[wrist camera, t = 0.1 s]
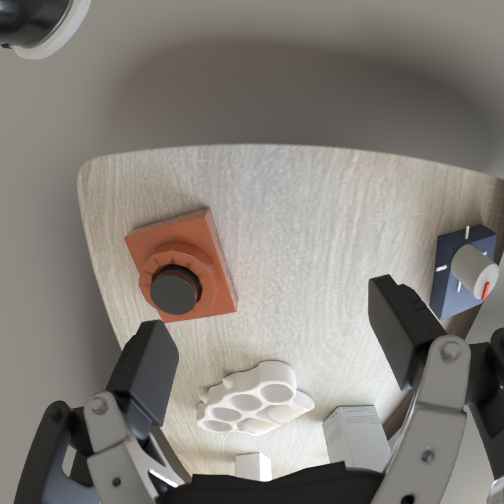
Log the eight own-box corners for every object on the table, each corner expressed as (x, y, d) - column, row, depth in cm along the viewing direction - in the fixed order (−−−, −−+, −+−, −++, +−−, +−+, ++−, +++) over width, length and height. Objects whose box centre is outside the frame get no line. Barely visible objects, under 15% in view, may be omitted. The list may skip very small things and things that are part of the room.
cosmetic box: (320, 422, 41) (333, 497, 26) (338, 404, 38) (356, 486, 24) (358, 422, 42) (375, 490, 27) (377, 403, 39) (400, 476, 25)
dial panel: (424, 222, 24) (440, 233, 21) (483, 208, 23) (500, 217, 20) (416, 311, 29) (427, 326, 27) (471, 290, 28) (483, 303, 26)
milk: (270, 458, 49) (274, 539, 29) (246, 462, 50) (246, 540, 30) (259, 451, 46) (261, 540, 27) (234, 455, 47) (232, 540, 28)
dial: (452, 248, 22) (480, 271, 18) (477, 240, 22) (504, 261, 17) (448, 280, 24) (471, 305, 20) (472, 271, 23) (495, 294, 19)
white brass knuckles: (249, 429, 41) (177, 400, 37) (329, 385, 35) (252, 344, 31) (249, 445, 38) (174, 417, 34) (333, 403, 32) (253, 365, 28)
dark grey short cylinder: (148, 269, 23) (142, 280, 21) (190, 260, 22) (186, 271, 21) (165, 306, 24) (161, 318, 23) (205, 299, 24) (202, 311, 22)
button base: (132, 228, 25) (115, 246, 21) (209, 207, 24) (201, 223, 20) (168, 310, 29) (159, 335, 25) (238, 299, 28) (236, 324, 25)
